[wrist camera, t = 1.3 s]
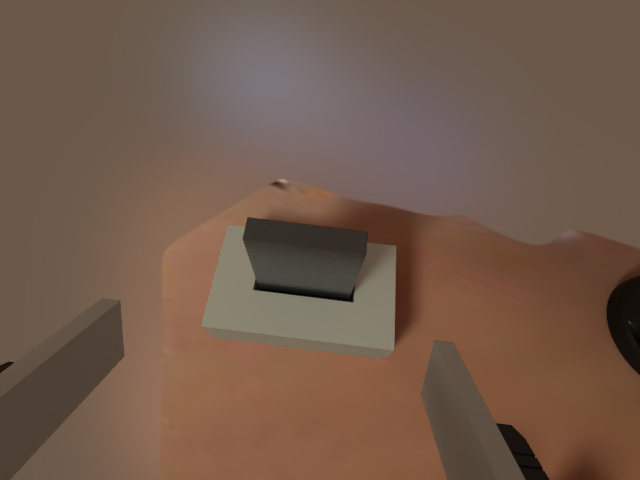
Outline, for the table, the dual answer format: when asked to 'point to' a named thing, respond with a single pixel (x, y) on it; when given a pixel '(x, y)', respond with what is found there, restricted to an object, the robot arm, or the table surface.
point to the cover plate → (304, 258)
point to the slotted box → (304, 307)
